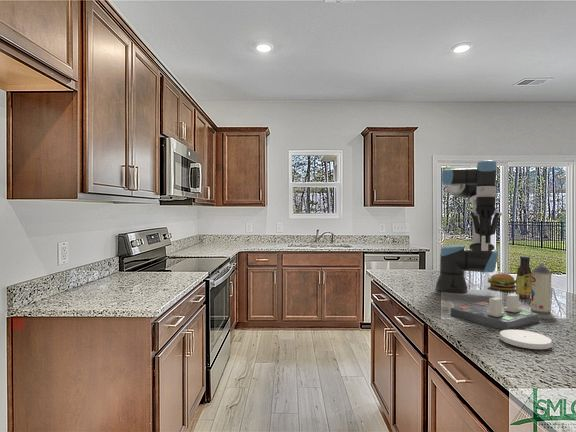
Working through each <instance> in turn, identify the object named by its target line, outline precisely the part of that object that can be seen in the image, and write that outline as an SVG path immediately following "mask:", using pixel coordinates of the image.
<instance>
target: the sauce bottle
mask: <svg viewBox="0 0 576 432" xmlns="http://www.w3.org/2000/svg"><path fill="white" fill-rule="evenodd" d="M530 260H531V257H530V256H525V255H524V256H523V255H522V256H520V257H519V261H520V264H519V267H517V271H516V280H517V282H516V283H515V285H516V287H515V294H517V295H519V299H531V283H532V269H531V267H530Z"/></svg>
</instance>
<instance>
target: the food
mask: <svg viewBox="0 0 576 432" xmlns="http://www.w3.org/2000/svg"><path fill="white" fill-rule="evenodd" d="M516 282H517V279H516V280H515V278H514V276H513V275H510V274H507V273H496V274H492V275H491V277H488V279H487V283H489V285H490V288H491V289H494V290H499V291H514V290H515V291H516Z"/></svg>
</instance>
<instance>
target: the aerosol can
mask: <svg viewBox="0 0 576 432" xmlns="http://www.w3.org/2000/svg"><path fill="white" fill-rule="evenodd" d="M531 272H532V283H531V297H530V312H533V313H537V314H545V315H546V314H551V303H552V302H551V301H552V272H551V271H550V270H549V268H547V267H546V266H545V263H541V262H540V263H539V265H538V266H536V267H534V269H531Z"/></svg>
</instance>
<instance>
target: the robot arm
mask: <svg viewBox="0 0 576 432" xmlns="http://www.w3.org/2000/svg"><path fill="white" fill-rule="evenodd" d="M497 169H498V167H497V161H496V160H493V159H492V160H489V159H487V160H479V161H478V162H477V164H476V167H469V168H467V167H465V168H444V169H442V171H441V184H442V185H445V190H446V191H447V192H448V193H449V194H450V195H452V196H454V197H457V198H458V197H459V198H462V199H463V198H465V199H467V198H469V201H470V202H471V203H472V211H471V212H470V213H469V214H470V216H471V218H472V242H471V243H470V244H469V245H468V247H469V248H468V247H467V248H466V247H465V245H463V244H461V245H459V244H458V245H457V244H455V245H448V246H442V247H441V248H440V254H439V257H440V261H439V276H438V278H437V281H436V284H435V289H436V290H437V291H441V292H445V293H452V294H453V293H454V294H463V293H467V292H468V285H467V281H466V279H465V272H474V273H475V272H476V273H477V272H478V273H483V274H485V273H493V272H495V271H496V266H497V261H498V254H499V253H498V252H499V251H498V249H496V248H495V245H494V244H492V236H493V235H496V231H497V227H498V224H499V220H500V217H501V216H502V212H500V211H498V210H497V208H496V204H497V203H496V201H497V195H498V194H497Z"/></svg>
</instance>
